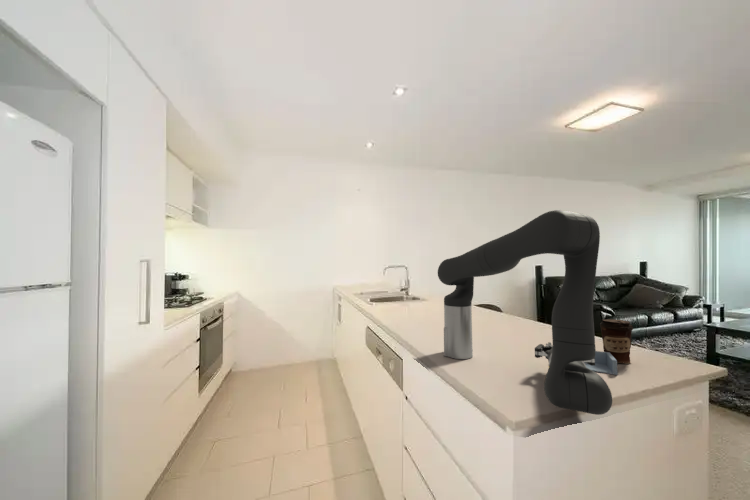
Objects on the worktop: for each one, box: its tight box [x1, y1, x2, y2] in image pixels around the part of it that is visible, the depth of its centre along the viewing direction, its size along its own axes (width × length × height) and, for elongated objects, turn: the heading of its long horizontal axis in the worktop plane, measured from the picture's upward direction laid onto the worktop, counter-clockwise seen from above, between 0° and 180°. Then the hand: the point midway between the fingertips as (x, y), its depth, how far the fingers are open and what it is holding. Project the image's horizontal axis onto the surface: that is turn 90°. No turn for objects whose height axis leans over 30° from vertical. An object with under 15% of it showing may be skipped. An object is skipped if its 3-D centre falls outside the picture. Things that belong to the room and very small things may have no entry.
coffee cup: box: [599, 318, 634, 365], centre depth 91 cm, size 9×8×13 cm
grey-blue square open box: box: [584, 350, 619, 376], centre depth 85 cm, size 8×8×4 cm
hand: (560, 347), depth 84 cm, fingers closed on supplement bottle, 4 cm apart
